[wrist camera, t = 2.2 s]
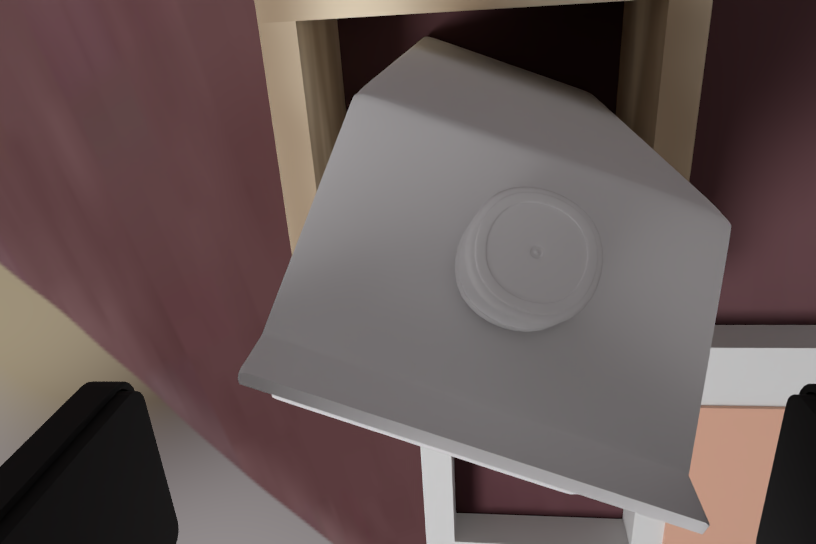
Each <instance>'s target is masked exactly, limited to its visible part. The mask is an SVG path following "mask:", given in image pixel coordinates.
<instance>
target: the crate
mask: <svg viewBox="0 0 816 544" xmlns="http://www.w3.org/2000/svg"><path fill="white" fill-rule="evenodd" d="M254 1H255V7H256V14H257V21H258V28H259V35H260V41H261V48H262V55H263V62H264V69H265V75H266V82H267V89H268V96H269V102H270V109H271V116H272V123H273V130H274V136H275V143H276V150H277V157H278V164H279V170H280V177H281V184H282V191H283V198H284V204H285V211H286V218H287V225H288V232H289V238H290V245H291V252H292V255H293V252H294V250H295V247H296V244H297V242H298V239H299V237H300V234H301V231H302V229H303V226H304V224H305V221H306V218H307V216H308V213H309V210H310V208H311V205H312V203H313V200H314V197H315V195H316V192H317V190H318V187H319V184H320V182H321V179H322V176H323V174H324V171H325V169H326V166H327V163H328V161H329V158H330V156H331V153H332V150H333V148H334V145H335V143H336V140H337V137H338V135H339V132H340V129H341V127H342V124H343V122H344V119H345V116H346V105H345V94H344V84H343V74H342V64H341V54H340V44H339V33H338V23H337V19H338V18H354V17H370V16H387V15H403V14H419V13H436V12H452V11H468V10H485V9H501V8H517V7H534V6H550V5H566V4H583V3H599V2H615V1H624V12H623V25H622V38H621V51H620V64H619V77H618V90H617V103H616V116H617V117H618V118H619V119H620V120H621V121H622V122H623V123H625V124H626V125H627V126H628V127H629V128H630V129H631V130H632V131H633V132H635V133H636V134H637V135H638V136H639V137H640V138H641V139H642V140H643V141H644V142H646V143H647V144H648V145H649V146H650V147H651V148H652V149H653V150H654V151H655V152H657V153H658V154H659V155H660V156H661V157H662V158H663V159H664V160H665V161H666V162H668V163H669V164H670V165H671V166H672V167H673V168H674V169H675V170H676V171H677V172H679V173H680V174H681V175H682V176H683V177H684V178H685V179H686V180H687V181H688V182H689V180H690V172H691V164H692V157H693V149H694V142H695V134H696V126H697V119H698V111H699V103H700V96H701V88H702V80H703V73H704V65H705V57H706V50H707V42H708V35H709V27H710V19H711V12H712V4H713V0H254Z"/></svg>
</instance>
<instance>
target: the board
mask: <svg viewBox="0 0 816 544" xmlns="http://www.w3.org/2000/svg"><path fill="white" fill-rule="evenodd" d="M807 384H816V325H715V326H714V332H713V338H712V344H711V349H710V355H709V361H708V367H707V372H706V378H705V384H704V390H703V395H702V401H701V407H700V413H699V419H698V424H697V430H696V436H695V442H694V447H693V453H692V459H691V465H690V470H689V474H688V476H689V478H690V480H691V482H692V484H693V487H694V489H695V491H696V494H697V496H698V498H699V501H700V503H701V505H702V507H703V510H704V512H705V514H706V517H707V519H708V521H709V524H710V526H709V527H708V528H707V530H706V531H705V532H704V533H703V534H700V533H696V532H693V531H690V530H687V529H684V528H681V527H678V526H675V525H672V524H669V523H666V522H663V521H660V520H656V519H653V518H650V517H647V516H644V515H641V514H638V513H635V512H632V511H629V510H626V509H623V518H622V519H609V518H582V517H555V516H527V515H500V514H473V513H456V499H455V472H454V457H452V456H449V455H446V454H443V453H440V452H437V451H434V450H431V449H428V448H425V447H422V446H420V447H421V463H422V478H423V494H424V510H425V525H426V541H427V544H756V538H757V533H758V529H759V524H760V520H761V515H762V511H763V506H764V502H765V497H766V493H767V488H768V484H769V479H770V475H771V470H772V466H773V461H774V457H775V452H776V448H777V443H778V438H779V434H780V429H781V425H782V420H783V416H784V411H785V407H786V403H787V400H788V398H789V397H790V396H791V395H794V394H799V393H800V390H801V389H802V388H803V387H804V386H805V385H807Z"/></svg>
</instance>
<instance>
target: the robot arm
mask: <svg viewBox="0 0 816 544" xmlns="http://www.w3.org/2000/svg"><path fill="white" fill-rule="evenodd" d="M177 538H178V521H177V517H176V514H175V510H174V506H173V503H172V499H171V495H170V492H169V488H168V484H167V480H166V477H165V473H164V469H163V466H162V462H161V458H160V454H159V451H158V447H157V444H156V440H155V436H154V432H153V429H152V425H151V421H150V417H149V414H148V410H147V406H146V403H145V400H144V397H143V395H142V394H141V393H140V392H138V391H134V388H133V387H132V386H131V385H130V384H129V383H127V382H88V383H86V384H84V385H83V386H82V387H81V388H80V389H79V390H78V391H77V392H76V393H75V394H74V395H73V396H72V397H70V399H68V401H66V402H65V403H64V404H63V405H62V406H61V407H60V408H59V409H58V410H57V411H56V412H55V413H54V414H53V415H52V416H51V417H50V418H49V419H48V420H47V421H46V422H45V423H44V424H43V425H42V426H41V427H40V428H39V429H38V430H37V431H36V432H35V433H34V434H33V435H32V436H31V437H30V438H29V439H28V440H27V441H26V442H25V443H24V444H23V445H22V446H21V447H20V448H19V449H18V450H17V451H16V452H15V453H14V454H13V455H12V456H11V457H10V458H9V459H8V460H7V461H6V462H5V463H4V464H3V465H2V466H1V467H0V544H176V541H177ZM756 544H816V384H807V385H805V386H804V387H803V388H802V389H801V390H800V393H799V394H794V395H791V396H790V397H789V398H788V400H787V403H786V407H785V411H784V416H783V420H782V425H781V429H780V434H779V438H778V443H777V448H776V452H775V457H774V461H773V466H772V470H771V475H770V479H769V484H768V488H767V493H766V497H765V502H764V506H763V511H762V515H761V520H760V524H759V529H758V533H757V538H756Z"/></svg>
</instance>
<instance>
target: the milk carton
mask: <svg viewBox="0 0 816 544" xmlns="http://www.w3.org/2000/svg"><path fill="white" fill-rule="evenodd" d="M730 232H731V224H730V223H729V221H728V220H727V219H726V218H725V217H724V216H723V215H722V213H721V212H720V211H719V210H718V209H717V208H716V207H715V206H714V205H713V204H712V203H711V202H710V201H709V200H708V199H707V198H706V197H705V196H704V195H703V194H702V193H701V192H699V191H698V190H697V189H696V188H695V187H694V186H693V185H692V184H691V183H690V182H688V181H687V180H686V179H685V178H684V177H683V176H682V175H681V174H680V173H679V172H677V171H676V170H675V169H674V168H673V167H672V166H671V165H670V164H669V163H668V162H666V161H665V160H664V159H663V158H662V157H661V156H660V155H659V154H658V153H657V152H655V151H654V150H653V149H652V148H651V147H650V146H649V145H648V144H647V143H646V142H644V141H643V140H642V139H641V138H640V137H639V136H638V135H637V134H636V133H635V132H633V131H632V130H631V129H630V128H629V127H628V126H627V125H626V124H625V123H623V122H622V121H621V120H620V119H619V118H618V117H617V116H616V115H615V114H614V113H612V112H611V111H610V110H609V109H608V108H607V107H606V106H605V105H604V104H603V103H601V102H600V101H599V100H598V99H597V98H596V97H595V96H594V95H592V94H591V93H589V92H587V91H584V90H581V89H579V88H576V87H573V86H570V85H567V84H565V83H562V82H559V81H556V80H553V79H550V78H547V77H545V76H542V75H539V74H536V73H533V72H530V71H527V70H525V69H522V68H519V67H516V66H513V65H510V64H507V63H505V62H502V61H499V60H496V59H493V58H490V57H487V56H484V55H482V54H479V53H476V52H473V51H470V50H467V49H464V48H462V47H459V46H456V45H453V44H450V43H447V42H444V41H441V40H438V39H435V38H432V37H427V36H426V37H423V38H422V39H421V40H420V41H419V42H417V43H416V44H415V45H414V46H412V47H411V48H410V49H409V50H408V51H406V52H405V53H404V54H403V55H401V56H400V57H399V58H398V59H397V60H395V61H394V62H393V63H392V64H390V65H389V66H388V67H387V68H386V69H384V70H383V71H382V72H381V73H379V74H378V75H377V76H376V77H375V78H373V79H372V80H371V81H370V82H368V83H367V84H366V85H365V86H364V87H363V88H362V89H361V90H360V91H359V92H358V93H357V94H355V95H354V96H353V98H352V101H351V103H350V106H349V109H348V111H347V114H346V116H345V119H344V122H343V124H342V127H341V129H340V132H339V135H338V137H337V140H336V143H335V145H334V148H333V150H332V153H331V156H330V158H329V161H328V163H327V166H326V169H325V171H324V174H323V176H322V179H321V182H320V184H319V187H318V190H317V192H316V195H315V197H314V200H313V203H312V205H311V208H310V210H309V213H308V216H307V218H306V221H305V224H304V226H303V229H302V231H301V234H300V237H299V239H298V242H297V244H296V247H295V250H294V252H293V255H292V257H291V260H290V263H289V265H288V268H287V271H286V273H285V276H284V278H283V281H282V284H281V286H280V289H279V291H278V294H277V297H276V299H275V302H274V305H273V307H272V310H271V312H270V315H269V318H268V320H267V323H266V325H265V328H264V331H263V333H262V336H261V337H260V339H259V340H258V342H257V343H256V345H255V347H254V348H253V350H252V351H251V353H250V355H249V356H248V358H247V359H246V361H245V362H244V364H243V366H242V367H241V369H240V371H239V375H238V381H239V384H241V385H244V386H248V387H251V388H254V389H257V390H260V391H263V392H266V393H269V394H272V397H273V398H275V399H278V400H281V401H284V402H287V403H290V404H293V405H296V406H299V407H302V408H305V409H308V410H311V411H314V412H317V413H320V414H323V415H326V416H329V417H332V418H335V419H338V420H342V421H345V422H348V423H351V424H354V425H357V426H360V427H363V428H366V429H369V430H372V431H375V432H378V433H382V434H385V435H388V436H391V437H394V438H397V439H400V440H403V441H406V442H409V443H412V444H415V445H418V446H422V447H425V448H428V449H431V450H434V451H437V452H440V453H443V454H446V455H449V456H452V457H455V458H458V459H462V460H465V461H468V462H471V463H474V464H477V465H480V466H483V467H486V468H489V469H492V470H495V471H498V472H502V473H505V474H508V475H511V476H514V477H517V478H520V479H523V480H526V481H529V482H532V483H535V484H539V485H542V486H545V487H548V488H551V489H554V490H557V491H561V492H564V493H567V494H580V495H583V496H586V497H589V498H592V499H595V500H598V501H601V502H604V503H607V504H610V505H613V506H617V507H620V508H623V509H626V510H629V511H632V512H635V513H638V514H641V515H644V516H647V517H650V518H653V519H656V520H660V521H663V522H666V523H669V524H672V525H675V526H678V527H681V528H684V529H687V530H690V531H693V532H696V533H700V534H703V533H704V532H705V531H706V530H707V528H708V527H709V526H710V524H709V521H708V519H707V517H706V514H705V512H704V510H703V507H702V505H701V503H700V501H699V498H698V496H697V494H696V491H695V489H694V487H693V484H692V482H691V480H690V478H689V476H688V474H689V470H690V465H691V459H692V453H693V447H694V442H695V436H696V430H697V424H698V419H699V413H700V407H701V401H702V395H703V390H704V384H705V378H706V372H707V367H708V361H709V355H710V349H711V344H712V338H713V332H714V326H715V320H716V315H717V309H718V303H719V297H720V292H721V286H722V280H723V274H724V269H725V263H726V257H727V251H728V245H729V239H730Z"/></svg>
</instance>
